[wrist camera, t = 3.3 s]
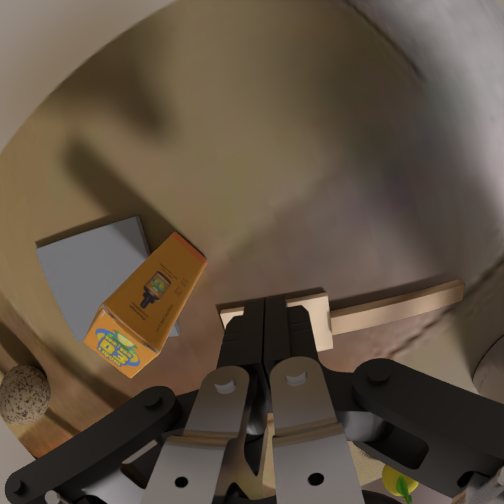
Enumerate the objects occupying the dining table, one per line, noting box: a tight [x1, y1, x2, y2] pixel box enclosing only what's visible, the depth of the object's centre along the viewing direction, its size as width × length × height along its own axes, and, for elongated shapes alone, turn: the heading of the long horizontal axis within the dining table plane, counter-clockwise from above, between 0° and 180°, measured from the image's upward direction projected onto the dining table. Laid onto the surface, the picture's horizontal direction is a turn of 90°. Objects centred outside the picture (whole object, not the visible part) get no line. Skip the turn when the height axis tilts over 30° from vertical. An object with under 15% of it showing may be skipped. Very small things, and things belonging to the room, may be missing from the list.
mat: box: [35, 215, 181, 341], centre depth 21 cm, size 12×10×1 cm
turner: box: [220, 279, 465, 351], centre depth 21 cm, size 20×5×1 cm, turn 103°
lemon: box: [382, 465, 419, 504], centre depth 24 cm, size 7×6×10 cm
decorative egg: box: [0, 365, 51, 425], centre depth 23 cm, size 7×7×10 cm
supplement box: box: [83, 232, 208, 378], centre depth 16 cm, size 3×3×10 cm
